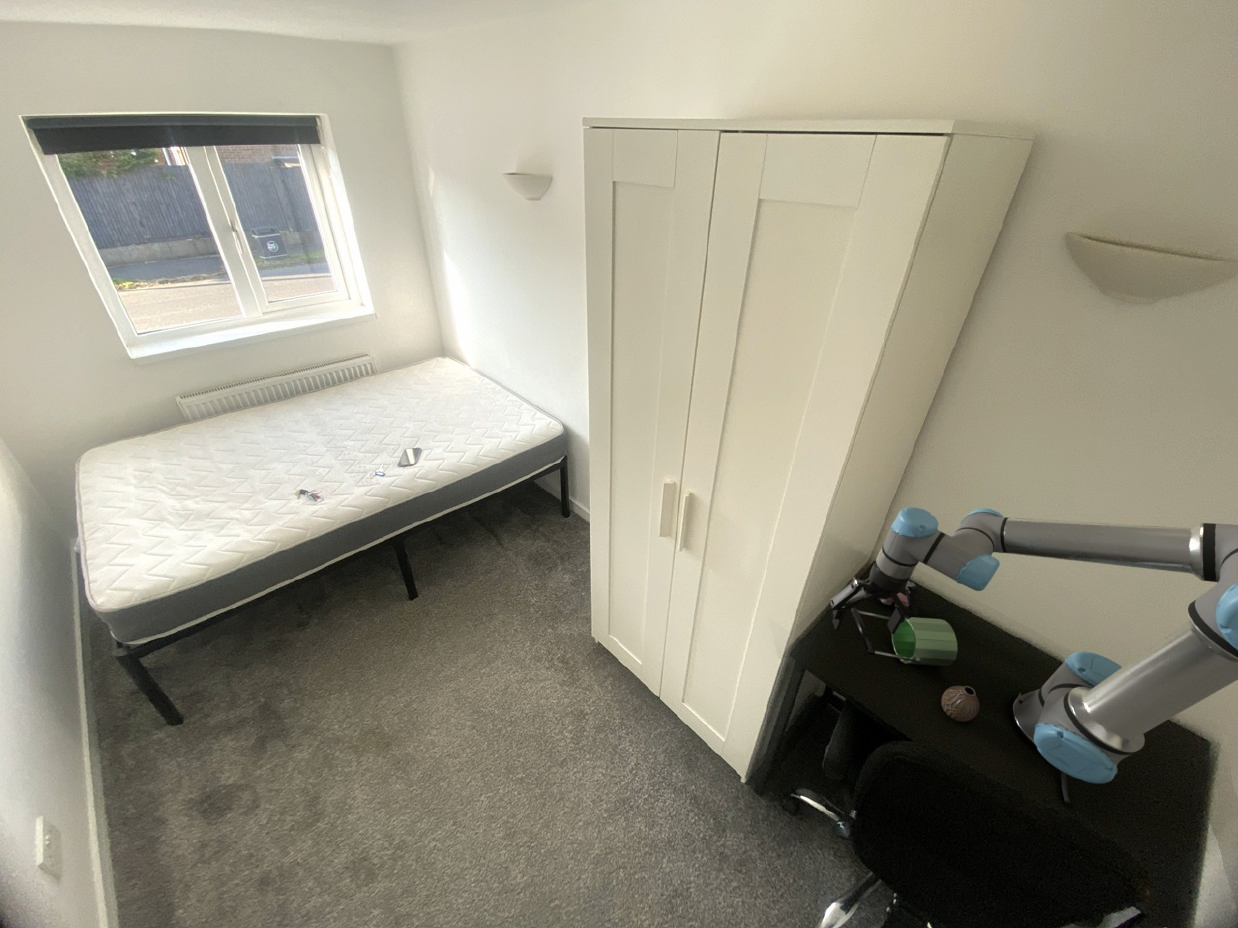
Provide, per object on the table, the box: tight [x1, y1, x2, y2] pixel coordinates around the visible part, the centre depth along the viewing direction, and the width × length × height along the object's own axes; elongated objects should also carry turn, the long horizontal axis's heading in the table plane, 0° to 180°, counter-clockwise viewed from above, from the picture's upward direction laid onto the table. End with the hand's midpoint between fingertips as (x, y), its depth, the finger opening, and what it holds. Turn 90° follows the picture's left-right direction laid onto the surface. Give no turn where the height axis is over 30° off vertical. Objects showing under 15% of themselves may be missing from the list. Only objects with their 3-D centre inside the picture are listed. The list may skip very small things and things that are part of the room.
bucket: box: [850, 607, 958, 667], centre depth 126 cm, size 11×13×22 cm
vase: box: [940, 685, 980, 723], centre depth 115 cm, size 7×7×9 cm
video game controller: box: [877, 592, 909, 609], centre depth 141 cm, size 10×5×7 cm, turn 67°
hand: (862, 627), depth 125 cm, fingers open, 13 cm apart
